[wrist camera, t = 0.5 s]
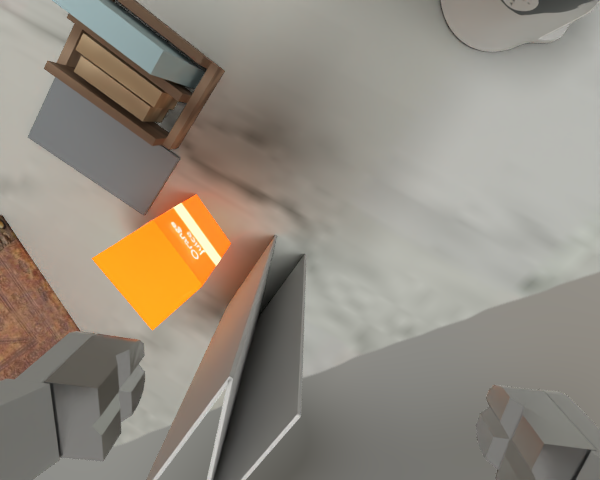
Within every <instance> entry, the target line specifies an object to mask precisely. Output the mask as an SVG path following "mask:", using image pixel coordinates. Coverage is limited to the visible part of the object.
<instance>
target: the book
mask: <svg viewBox="0 0 600 480" xmlns="http://www.w3.org/2000/svg"><path fill="white" fill-rule="evenodd" d="M74 331H80V330H79V328H78V327H77V326H76V324H75V323H74V321H73V320H72V318H71V317H70V315H69V314H68V312H67V311H66V309H65V308H64V306H63V305H62V303H61V302H60V300H59V299H58V297H57V296H56V294H55V293H54V292H53V290H52V289H51V287H50V286H49V284H48V283H47V281H46V280H45V278H44V277H43V275H42V274H41V272H40V271H39V269H38V268H37V266H36V265H35V263H34V262H33V260H32V259H31V257H30V256H29V255H28V253H27V252H26V250H25V249H24V247H23V246H22V244H21V243H20V241H19V240H18V238H17V237H16V235H15V234H14V232H13V231H12V229H11V228H10V226H9V225H8V223H7V222H6V220H5V219H4V218H3V216H0V381H2V380H4V379H16V378H17V377H18V376H19V375H20V374H22V373H23V372H24V371H25V370H26V369H27V368H29V367H30V366H31V365H32V364H33V363H34V362H36V361H37V360H38V359H39V358H40V357H41V356H43V355H44V354H45V353H46V352H47V351H48V350H50V349H51V348H52V347H53V346H54V345H56V344H57V343H58V342H59V341H60V340H61V339H63V338H64V337H65V336H66V335H67V334H68V333H70V332H74ZM80 332H81V331H80Z"/></svg>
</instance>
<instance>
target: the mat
mask: <svg viewBox="0 0 600 480" xmlns="http://www.w3.org/2000/svg"><path fill="white" fill-rule="evenodd" d="M28 138H30V139H31V140H32V141H34V142H35V143H37V144H38V145H40V146H41V147H43V148H44V149H46V150H47V151H49V152H50V153H52V154H53V155H55V156H56V157H58V158H59V159H61V160H62V161H64V162H65V163H67V164H68V165H70V166H71V167H73V168H74V169H76V170H77V171H79V172H80V173H82V174H83V175H84V176H86V177H87V178H89V179H90V180H92V181H93V182H95V183H96V184H98V185H99V186H101V187H102V188H104V189H105V190H107V191H108V192H110V193H111V194H113V195H114V196H116V197H117V198H119V199H120V200H122V201H123V202H125V203H126V204H128V205H129V206H131V207H132V208H133V209H135V210H136V211H138V212H139V213H141V214H142V215H146V213H147V212H148V210H149V209H150V207H151V205H152V204H153V202H154V201H155V199H156V197H157V196H158V194H159V192H160V191H161V189H162V188H163V186H164V184H165V183H166V181H167V179H168V178H169V176H170V175H171V173H172V171H173V170H174V168H175V167H176V165H177V163H178V162H179V160H180V158H179V157H178V156H176V155H175V154H174V153H172V152H171V151H170V150H168V149H167V148H165V147H164V146H163V145H156V146H151V145H150V144H149V143H147V142H146V141H144V140H143V139H142V138H140V137H139V136H137V135H136V134H135V133H133V132H132V131H130V130H129V129H128V128H126V127H125V126H123V125H122V124H121V123H119V122H118V121H116V120H115V119H114V118H112V117H111V116H109V115H108V114H107V113H105V112H104V111H102V110H101V109H100V108H98V107H97V106H95V105H94V104H93V103H91V102H90V101H88V100H87V99H86V98H84V97H83V96H81V95H80V94H79V93H77V92H76V91H74V90H73V89H72V88H70V87H69V86H67V85H66V84H65V83H63V82H62V81H60V80H59V79H58V78H56V77H55V79H54V81H53V83H52V85H51V88H50V90H49V92H48V94H47V96H46V98H45V101H44V103H43V105H42V107H41V109H40V111H39V114H38V116H37V118H36V120H35V122H34V124H33V127H32V129H31V131H30V133H29V135H28Z"/></svg>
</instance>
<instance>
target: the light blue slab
mask: <svg viewBox="0 0 600 480" xmlns="http://www.w3.org/2000/svg"><path fill="white" fill-rule="evenodd" d="M52 1H54V2H55V3H56V4H58V5H59V6H60V7H62V8H63V9H64V10H66V11H67V12H68V13H70V14H71V15H72V16H74V17H75V18H76V19H78V20H79V21H80V22H82V23H83V24H84V25H86V26H87V27H88V28H89V29H91V30H92V31H93V32H95V33H96V34H97V35H99V36H100V37H101V38H103V39H104V40H105V41H107V42H108V43H109V44H111V45H112V46H113V47H115V48H116V49H117V50H119V51H120V52H121V53H123V54H124V55H125V56H127V57H128V58H129V59H131V60H132V61H133V62H135V63H136V64H137V65H139V66H140V67H141V68H143V69H144V70H145V71H147V72H148V73H149V74H151V75H154V76H157V77H160V78H163V79H166V80H169V81H172V82H175V83H178V84H181V85H184V86H187V87H190V88H194V89H195V88H196V86H197V85H198V83H199V81H200V80H201V78H202V76H203V75H204V73H205V71H203V70H202V69H201V68H199V67H198V66H197V65H196V64H194V63H193V62H192V61H190V60H189V59H188V58H187V57H185V56H184V55H183V54H181V53H180V52H179V51H178V50H176V49H175V48H174V47H173V46H171V45H170V44H169V43H167V42H166V41H165V40H164V39H162V38H161V37H160V36H158V35H157V34H156V33H155V32H153V31H152V30H151V29H149V28H148V27H147V26H146V25H144V24H143V23H142V22H140V21H139V20H138V19H137V18H135V17H134V16H133V15H131V14H130V13H129V12H128V11H126V10H125V9H124V8H122V7H121V6H119V5H118V4H116V3H115V2H113V1H112V0H52Z"/></svg>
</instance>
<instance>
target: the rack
mask: <svg viewBox="0 0 600 480" xmlns="http://www.w3.org/2000/svg"><path fill="white" fill-rule="evenodd" d="M112 1H113V2H114V1H115V0H112ZM117 1H119V2H120V3H121V4H122V5H124V6H125V7H126V8H128V9H129V10H130V11H131V12H133V13H134V14H135V15H137V16H138V17H139V18H140V19H142V20H143V21H144V22H146V23H147V24H148V25H149V26H151V27H152V28H153V29H154V30H156V31H157V32H158V33H160V34H161V35H162V36H163V37H165V38H166V39H167V40H169V41H170V42H171V43H172V44H174V45H175V46H176V47H178V48H179V49H180V50H181V51H183V52H184V53H185V54H186V55H188V56H189V57H190V58H192V59H193V60H194V61H195V62H197V63H198V64H199V65H201V66H203V67H205V68H206V69H207V70H206V72H205V74H204V76H203V77H202V79H201V81H200V82H199V84H198V86H197V87H196V89H195V91H194V92H193V93H192V92H191V91H189V90H188V89H187V88H185V87H184V86H183V85H181V84H178V83H175V82H172V81H169V80H166V79H163V78H160V77H157V76H154V75H151V74H149V73H148V72H147V71H145V70H144V69H143V68H141V67H140V66H139V65H137V64H136V63H135V62H133V61H132V60H131V59H129V58H128V57H127V56H125V55H124V54H123V53H121V52H120V51H119V50H117V49H116V48H115V47H113V46H112V45H111V44H109V43H108V42H107V41H105V40H104V39H103V38H101V37H100V36H99V35H97V34H96V33H95V32H93V31H92V30H91V29H89V28H88V27H87V26H86V25H84V24H83V23H82V22H80V21H79V20H78V19H76V18H75V17H74V16H72V15H71V14H70V13H69V14H68V16H67V18H68V19H69V20H71V21H72V22H73V23H75V24H74V26H73V28H72V31H71V33H70V35H69V37H68V39H67V41H66V44H65V46H64V48H63V50H62V52H61V55H60V57H59V59H58V61H57V63H55V62H51V61H47V63H46V65H45V67H44V69H45V70H47V71H48V72H49V73H51V74H52V75H54V76H55V77H56V78H58V79H59V80H60V81H62V82H63V83H65V84H66V85H67V86H69V87H70V88H72V89H73V90H74V91H76V92H77V93H79V94H80V95H81V96H83V97H84V98H86V99H87V100H88V101H90V102H91V103H93V104H94V105H95V106H97V107H98V108H100V109H101V110H102V111H104V112H105V113H107V114H108V115H109V116H111V117H112V118H114V119H115V120H116V121H118V122H119V123H121V124H122V125H123V126H125V127H126V128H128V129H129V130H130V131H132V132H133V133H135V134H136V135H137V136H139V137H140V138H142V139H143V140H144V141H146V142H147V143H149V144H150V145H151V146H156V145H163V146H165V147H166V148H168V149H169V150H170V149H176V148H178V147H179V145H180V144H181V142H182V141H183V139H184V137H185V136H186V134H187V132H188V131H189V129H190V127H191V126H192V124H193V122H194V121H195V119H196V118H197V116H198V114H199V113H200V111H201V109H202V108H203V106H204V104H205V103H206V101H207V100H208V98H209V96H210V95H211V93H212V91H213V90H214V88H215V86H216V85H217V83H218V82H219V80H220V78H221V77H222V75H223V73H224V72H225V71H224V70H223V69H222V68H220V67H219V66H218V65H217V64H215V63H214V62H213V61H211V60H210V59H209V58H208V57H206V56H205V55H204V54H203V53H201V52H200V51H199V50H198V49H196V48H195V47H194V46H192V45H191V44H190V43H189V42H187V41H186V40H185V39H184V38H182V37H181V36H180V35H179V34H177V33H176V32H175V31H173V30H172V29H171V28H170V27H168V26H167V25H166V24H165V23H163V22H162V21H161V20H159V19H158V18H157V17H156V16H154V15H153V14H152V13H151V12H149V11H148V10H147V9H146V8H144V7H143V6H142V5H140V4H139V3H138V2H137V1H135V0H117ZM83 33H84V34H87V35H89V36H91V37H93V38H95V39H96V40H97V41H99V42H100V43H101V44H103V45H104V46H105V47H107V48H108V49H109V50H111V51H112V52H113V53H115V54H116V55H117V56H119V57H120V58H121V59H123V60H124V61H125V62H127V63H128V64H129V65H131V66H132V67H133V68H135V69H136V70H137V71H139V72H140V73H141V74H143V75H144V76H145V77H147V78H148V79H149V80H151V81H152V82H153V83H155V84H156V85H157V86H159V87H160V88H161V89H163V90H164V91H165V92H167V93H168V94H169V95H171V96H172V97H173V98H175V99H176V100H177V101H180V102H185V103H187V104H186V106H185V108H184V109H183V111H182V113H181V114H180V116H179V118H178V119H177V121H176V123H175V124H174V126H173V128H172V129H171V131H170V133H168V132H167V131H166V130H164V129H163V128H161V127H160V126H159V125H157V124H156V123H155V122H144V121H141V120H140V119H139V118H137V117H136V116H134V115H133V114H132V113H130V112H129V111H127V110H126V109H125V108H123V107H122V106H121V105H119V104H118V103H116V102H115V101H114V100H112V99H111V98H110V97H108V96H107V95H105V94H104V93H103V92H101V91H100V90H99V89H97V88H96V87H94V86H93V85H92V84H90V83H89V82H87V81H86V80H85V79H83V78H82V77H81V76H79V75H78V74H76V73H75V72H74V70H75V68H76V66H77V64H78V62H79V60H80V57H81V56H83V55H82V54H81V53H79V52H78V51H77V50H76V47H77V45H78V43H79V41H80V39H81V37H82V35H83ZM83 57H85V56H83Z"/></svg>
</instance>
